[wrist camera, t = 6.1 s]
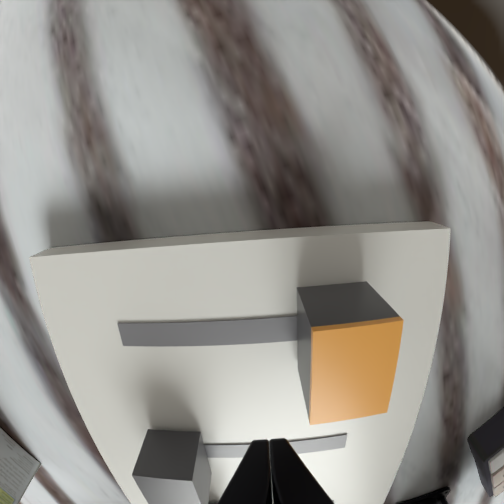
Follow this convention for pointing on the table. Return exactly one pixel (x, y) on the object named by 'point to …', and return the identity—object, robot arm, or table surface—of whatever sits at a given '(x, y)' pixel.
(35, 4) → the table surface
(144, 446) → the block
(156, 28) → the table surface
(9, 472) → the light bulb box
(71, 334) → the breaker panel
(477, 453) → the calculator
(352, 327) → the block
